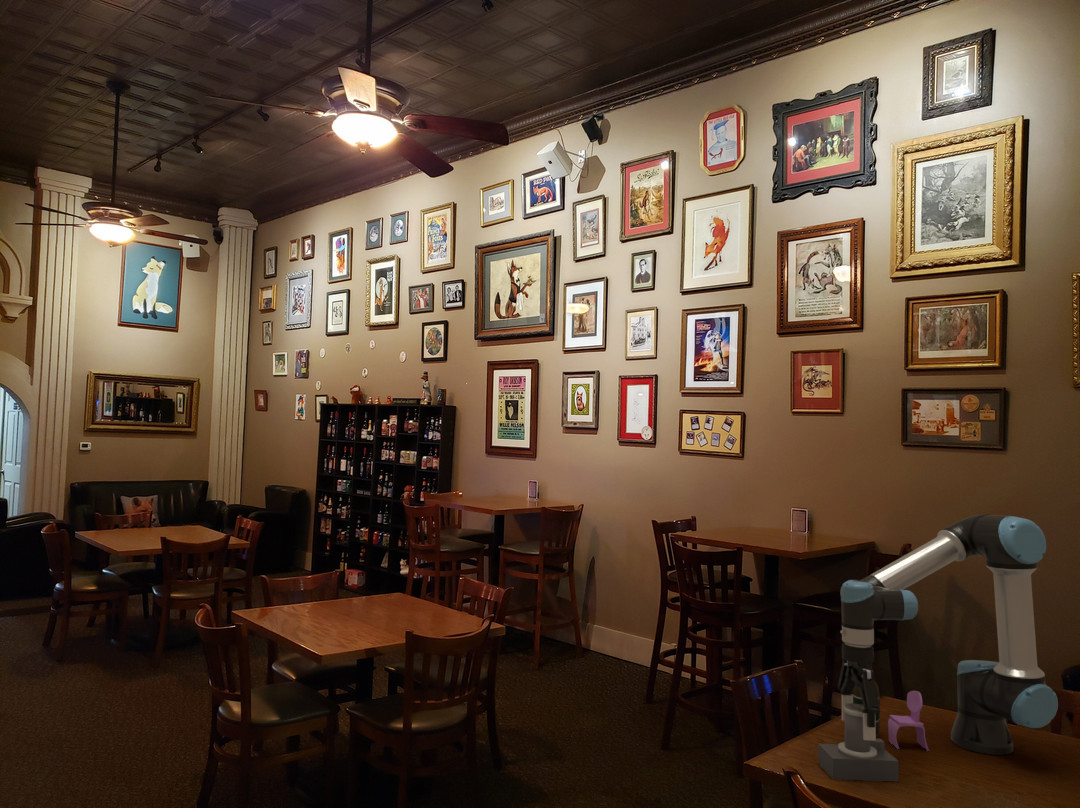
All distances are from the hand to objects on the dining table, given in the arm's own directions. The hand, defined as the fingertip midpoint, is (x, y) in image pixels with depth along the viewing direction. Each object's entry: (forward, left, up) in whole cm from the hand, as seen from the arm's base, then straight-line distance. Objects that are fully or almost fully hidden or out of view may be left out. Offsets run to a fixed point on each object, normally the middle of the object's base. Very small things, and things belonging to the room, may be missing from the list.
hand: (858, 730), depth 193 cm
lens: (0, 0, -4) cm, 4 cm away
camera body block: (0, 0, -10) cm, 10 cm away
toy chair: (-22, -20, -11) cm, 31 cm away
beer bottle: (-14, -29, -11) cm, 34 cm away
